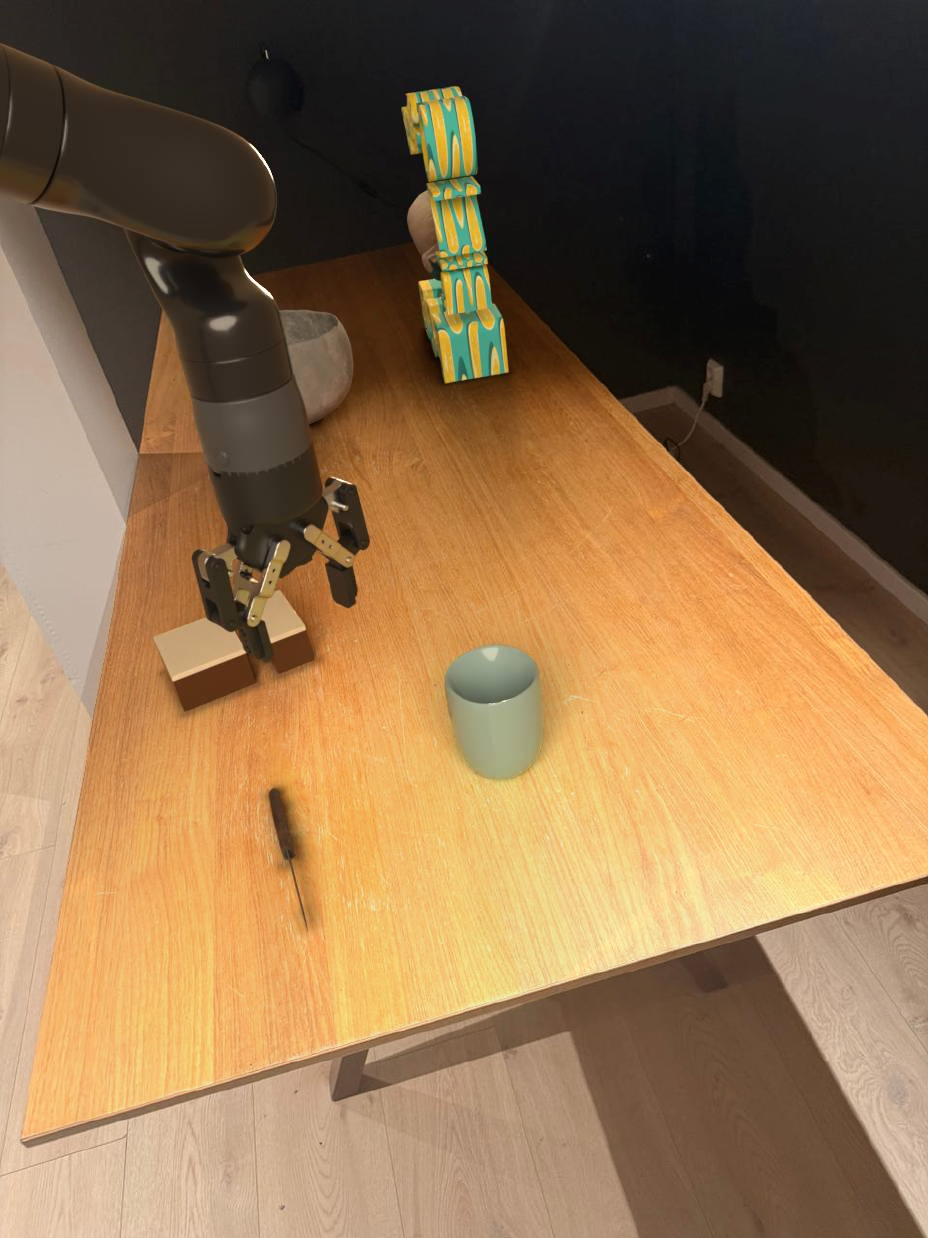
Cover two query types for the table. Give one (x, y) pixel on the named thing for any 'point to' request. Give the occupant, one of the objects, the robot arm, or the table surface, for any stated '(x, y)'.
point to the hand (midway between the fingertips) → (305, 629)
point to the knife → (283, 834)
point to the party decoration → (453, 238)
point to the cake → (203, 662)
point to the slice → (286, 634)
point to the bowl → (319, 359)
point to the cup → (496, 710)
